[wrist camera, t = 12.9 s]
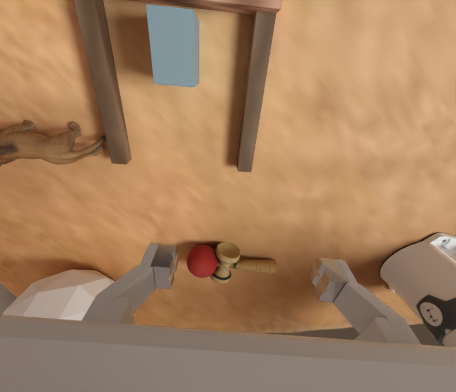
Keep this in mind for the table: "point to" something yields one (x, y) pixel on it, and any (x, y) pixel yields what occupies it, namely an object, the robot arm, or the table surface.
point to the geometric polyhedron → (60, 295)
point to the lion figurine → (43, 145)
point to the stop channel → (108, 85)
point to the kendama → (224, 262)
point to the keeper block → (174, 45)
